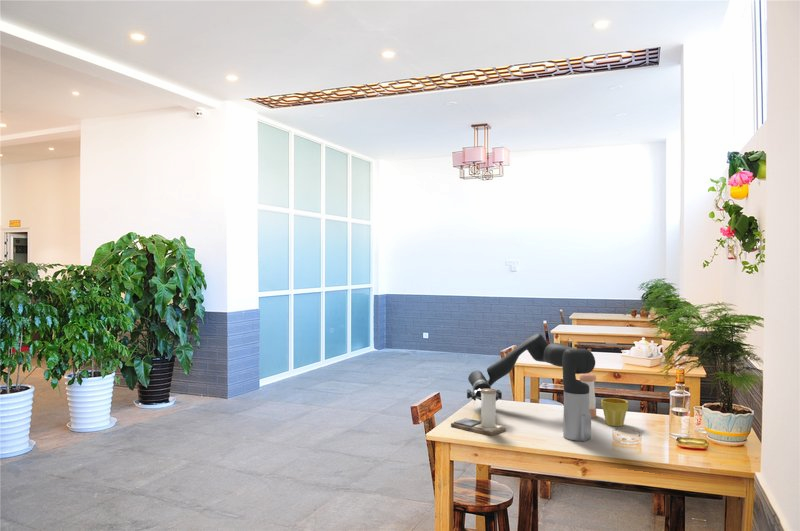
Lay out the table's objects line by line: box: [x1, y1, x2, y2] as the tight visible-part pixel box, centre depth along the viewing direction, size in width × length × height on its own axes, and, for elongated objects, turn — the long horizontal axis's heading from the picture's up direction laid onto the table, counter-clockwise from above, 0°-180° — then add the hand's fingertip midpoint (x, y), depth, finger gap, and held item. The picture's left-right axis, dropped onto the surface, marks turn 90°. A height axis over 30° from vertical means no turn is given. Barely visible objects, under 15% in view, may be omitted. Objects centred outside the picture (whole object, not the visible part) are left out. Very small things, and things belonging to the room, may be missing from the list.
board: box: [450, 417, 506, 437], centre depth 229 cm, size 19×10×2 cm, turn 49°
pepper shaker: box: [578, 372, 597, 419], centre depth 251 cm, size 7×7×19 cm
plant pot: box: [600, 397, 629, 427], centre depth 237 cm, size 10×10×10 cm
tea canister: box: [480, 388, 497, 428], centre depth 227 cm, size 6×6×14 cm
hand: (485, 398), depth 234 cm, fingers open, 8 cm apart
